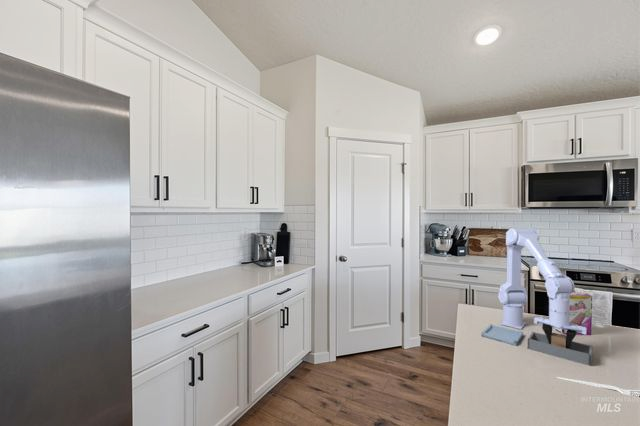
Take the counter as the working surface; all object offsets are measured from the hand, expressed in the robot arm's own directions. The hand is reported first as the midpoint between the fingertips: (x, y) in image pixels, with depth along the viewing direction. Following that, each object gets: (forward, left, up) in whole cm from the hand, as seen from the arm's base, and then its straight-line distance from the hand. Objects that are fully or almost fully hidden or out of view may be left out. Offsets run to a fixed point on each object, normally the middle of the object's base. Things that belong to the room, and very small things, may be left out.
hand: (559, 348), depth 105 cm
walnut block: (0, 0, -2) cm, 2 cm away
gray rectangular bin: (0, 0, -1) cm, 1 cm away
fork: (+18, +11, -2) cm, 21 cm away
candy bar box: (-26, +2, -2) cm, 26 cm away
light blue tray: (-1, -18, -1) cm, 18 cm away
